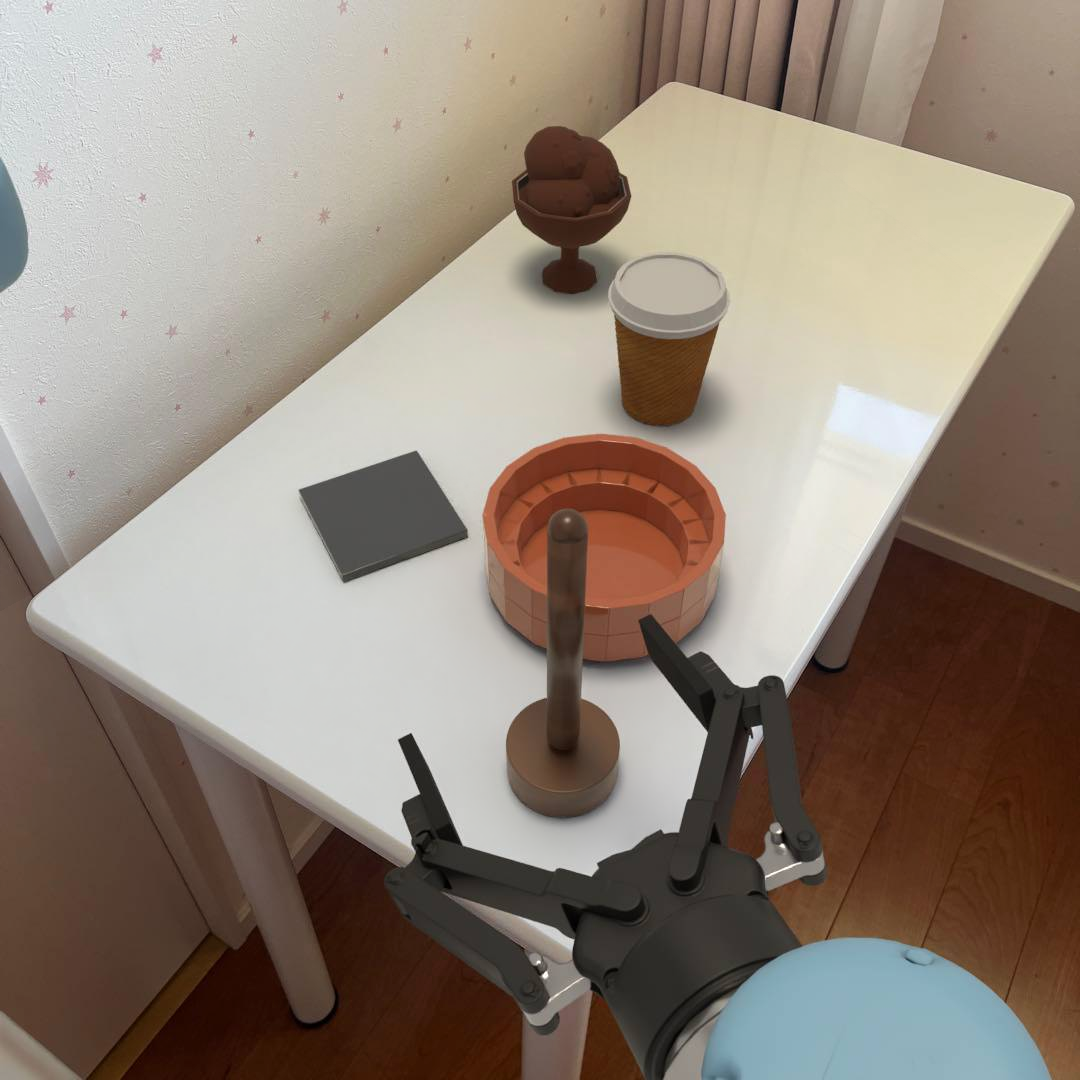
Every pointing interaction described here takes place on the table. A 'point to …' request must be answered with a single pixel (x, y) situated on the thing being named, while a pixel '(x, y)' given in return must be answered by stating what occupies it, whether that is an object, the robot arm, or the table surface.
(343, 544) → the dark grey square tile
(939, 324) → the table surface
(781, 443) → the table surface
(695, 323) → the disposable coffee cup
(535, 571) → the terracotta round bowl
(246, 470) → the table surface
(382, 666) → the table surface
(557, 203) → the ice cream bowl
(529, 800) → the paper towel holder
